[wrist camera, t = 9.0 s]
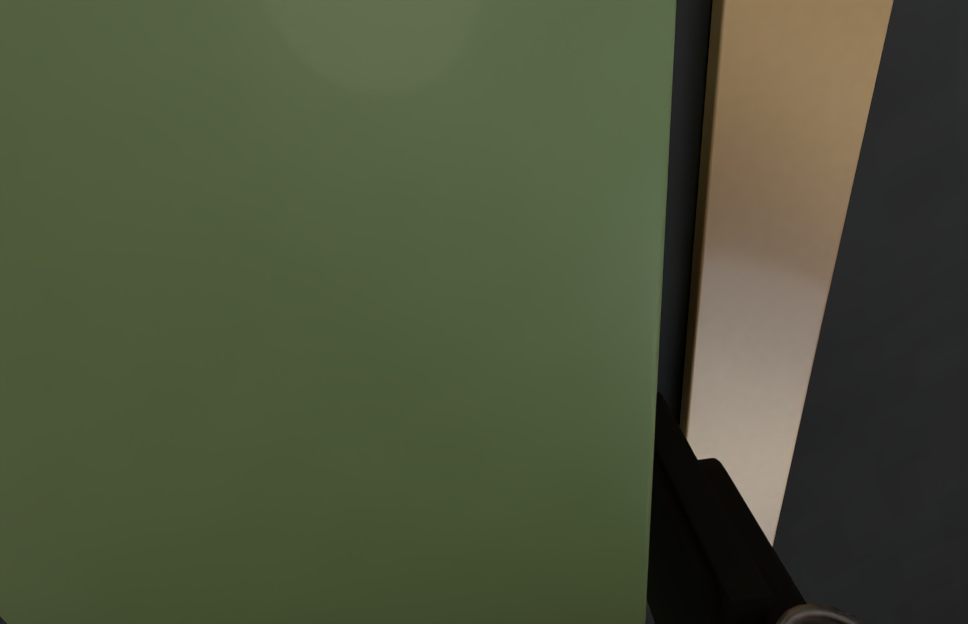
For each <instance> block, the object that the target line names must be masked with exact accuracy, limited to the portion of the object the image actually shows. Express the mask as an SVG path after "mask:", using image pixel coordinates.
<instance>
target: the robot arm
mask: <svg viewBox="0 0 968 624" xmlns="http://www.w3.org/2000/svg"><path fill="white" fill-rule="evenodd" d="M647 601H648V604H649V607H650V610H651V613H652V615H653V618H654V621H655V624H865V623H864V622H862V621H861V620H859V619H858V618H856V617H855V616H853V615H851V614H849V613H847V612H844V611H842V610H840V609H837V608H835V607H831V606H826V605H821V604H806V602H805V601H804V599H803V597H802V596H801V594H800V592H799V591H798V589H797V587H796V586H795V584H794V582H793V581H792V579H791V577H790V576H789V574H788V572H787V571H786V569H785V567H784V566H783V564H782V562H781V561H780V559H779V557H778V556H777V554H776V552H775V551H774V549H773V547H772V546H771V544H770V542H769V541H768V539H767V537H766V536H765V534H764V532H763V531H762V529H761V527H760V526H759V524H758V522H757V521H756V519H755V517H754V516H753V514H752V512H751V511H750V509H749V507H748V506H747V504H746V502H745V501H744V499H743V497H742V496H741V494H740V492H739V491H738V489H737V487H736V486H735V484H734V482H733V481H732V479H731V477H730V476H729V474H728V472H727V471H726V469H725V468H724V466H723V465H722V464H721V462H720V461H719V460H717V459H716V458H707V459H700V460H698V459H697V457H696V456H695V454H694V452H693V450H692V448H691V447H690V445H689V443H688V441H687V439H686V438H685V436H684V434H683V432H682V430H681V429H680V427H679V425H678V423H677V421H676V419H675V418H674V416H673V414H672V412H671V410H670V409H669V407H668V405H667V403H666V401H665V400H664V398H663V396H662V395H661V393H659V392H657V398H656V418H655V438H654V458H653V479H652V499H651V519H650V539H649V559H648V579H647Z"/></svg>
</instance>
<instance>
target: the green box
mask: <svg viewBox="0 0 968 624" xmlns="http://www.w3.org/2000/svg"><path fill="white" fill-rule="evenodd" d="M675 18H676V0H0V616H1V617H2V618H3V620H4V621H5V622H6V623H7V624H645V619H646V599H647V579H648V559H649V539H650V519H651V499H652V479H653V458H654V438H655V418H656V398H657V378H658V358H659V338H660V318H661V298H662V278H663V258H664V238H665V218H666V198H667V178H668V158H669V138H670V118H671V98H672V78H673V58H674V38H675Z"/></svg>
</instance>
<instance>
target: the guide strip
mask: <svg viewBox="0 0 968 624" xmlns="http://www.w3.org/2000/svg"><path fill="white" fill-rule="evenodd" d="M892 4H893V0H713V3H712V16H711V29H710V42H709V55H708V67H707V80H706V93H705V106H704V118H703V131H702V144H701V157H700V170H699V182H698V195H697V208H696V221H695V234H694V246H693V259H692V272H691V285H690V298H689V310H688V323H687V336H686V349H685V361H684V374H683V387H682V400H681V413H680V425H679V427H680V429H681V430H682V432H683V434H684V436H685V438H686V439H687V441H688V443H689V445H690V447H691V448H692V450H693V452H694V454H695V456H696V457H697V459H698V460H700V459H707V458H716V459H717V460H719V461H720V462H721V464H722V465H723V466H724V468H725V469H726V471H727V472H728V474H729V476H730V477H731V479H732V481H733V482H734V484H735V486H736V487H737V489H738V491H739V492H740V494H741V496H742V497H743V499H744V501H745V502H746V504H747V506H748V507H749V509H750V511H751V512H752V514H753V516H754V517H755V519H756V521H757V522H758V524H759V526H760V527H761V529H762V531H763V532H764V534H765V536H766V537H767V539H768V541H769V542H770V544H771V546H772V547H773V542H774V538H775V533H776V529H777V524H778V520H779V515H780V511H781V506H782V502H783V497H784V493H785V488H786V484H787V479H788V475H789V470H790V465H791V461H792V456H793V452H794V447H795V443H796V438H797V434H798V429H799V425H800V420H801V416H802V411H803V407H804V402H805V398H806V393H807V389H808V384H809V380H810V375H811V371H812V366H813V361H814V357H815V352H816V348H817V343H818V339H819V334H820V330H821V325H822V321H823V316H824V312H825V307H826V303H827V298H828V294H829V289H830V285H831V280H832V276H833V271H834V267H835V262H836V257H837V253H838V248H839V244H840V239H841V235H842V230H843V226H844V221H845V217H846V212H847V208H848V203H849V199H850V194H851V190H852V185H853V181H854V176H855V172H856V167H857V163H858V158H859V153H860V149H861V144H862V140H863V135H864V131H865V126H866V122H867V117H868V113H869V108H870V104H871V99H872V95H873V90H874V86H875V81H876V77H877V72H878V68H879V63H880V59H881V54H882V49H883V45H884V40H885V36H886V31H887V27H888V22H889V18H890V13H891V9H892Z"/></svg>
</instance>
